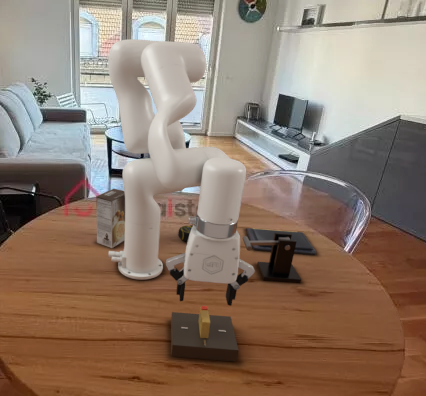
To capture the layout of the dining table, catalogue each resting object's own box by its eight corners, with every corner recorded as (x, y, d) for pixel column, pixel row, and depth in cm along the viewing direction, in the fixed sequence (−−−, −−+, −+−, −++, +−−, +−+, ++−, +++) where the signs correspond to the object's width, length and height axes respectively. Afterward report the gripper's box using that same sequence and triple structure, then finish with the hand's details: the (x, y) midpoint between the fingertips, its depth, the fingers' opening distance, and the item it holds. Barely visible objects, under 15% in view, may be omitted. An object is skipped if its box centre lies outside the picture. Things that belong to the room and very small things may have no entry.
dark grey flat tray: (253, 244, 115) (246, 224, 130) (252, 250, 116) (245, 229, 130) (318, 251, 114) (304, 229, 128) (317, 256, 114) (303, 234, 128)
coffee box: (113, 232, 123) (114, 187, 117) (129, 237, 120) (130, 192, 114) (96, 243, 116) (95, 195, 110) (112, 249, 113) (113, 200, 107)
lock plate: (171, 356, 73) (172, 344, 72) (170, 322, 83) (171, 311, 82) (236, 361, 73) (238, 349, 72) (228, 327, 82) (230, 315, 81)
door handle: (246, 252, 99) (246, 244, 98) (242, 241, 104) (242, 234, 103) (292, 251, 98) (293, 243, 97) (285, 241, 103) (286, 233, 103)
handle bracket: (263, 280, 100) (270, 242, 96) (256, 265, 108) (263, 229, 104) (300, 283, 100) (309, 245, 96) (291, 267, 107) (299, 231, 103)
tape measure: (202, 243, 119) (203, 232, 118) (182, 245, 117) (183, 234, 116) (193, 233, 125) (194, 223, 124) (174, 235, 123) (175, 225, 122)
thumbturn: (208, 338, 74) (210, 321, 73) (200, 337, 74) (202, 320, 73) (205, 321, 79) (208, 305, 78) (198, 321, 79) (200, 305, 78)
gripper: (169, 230, 65) (162, 307, 72) (267, 238, 64) (251, 315, 71) (169, 212, 72) (162, 284, 79) (258, 219, 71) (243, 291, 78)
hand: (204, 299), depth 75 cm, fingers open, 9 cm apart
